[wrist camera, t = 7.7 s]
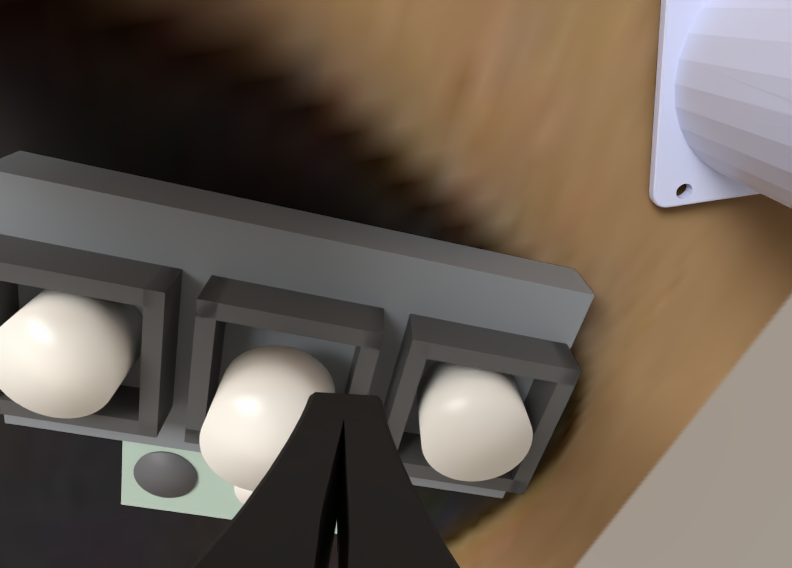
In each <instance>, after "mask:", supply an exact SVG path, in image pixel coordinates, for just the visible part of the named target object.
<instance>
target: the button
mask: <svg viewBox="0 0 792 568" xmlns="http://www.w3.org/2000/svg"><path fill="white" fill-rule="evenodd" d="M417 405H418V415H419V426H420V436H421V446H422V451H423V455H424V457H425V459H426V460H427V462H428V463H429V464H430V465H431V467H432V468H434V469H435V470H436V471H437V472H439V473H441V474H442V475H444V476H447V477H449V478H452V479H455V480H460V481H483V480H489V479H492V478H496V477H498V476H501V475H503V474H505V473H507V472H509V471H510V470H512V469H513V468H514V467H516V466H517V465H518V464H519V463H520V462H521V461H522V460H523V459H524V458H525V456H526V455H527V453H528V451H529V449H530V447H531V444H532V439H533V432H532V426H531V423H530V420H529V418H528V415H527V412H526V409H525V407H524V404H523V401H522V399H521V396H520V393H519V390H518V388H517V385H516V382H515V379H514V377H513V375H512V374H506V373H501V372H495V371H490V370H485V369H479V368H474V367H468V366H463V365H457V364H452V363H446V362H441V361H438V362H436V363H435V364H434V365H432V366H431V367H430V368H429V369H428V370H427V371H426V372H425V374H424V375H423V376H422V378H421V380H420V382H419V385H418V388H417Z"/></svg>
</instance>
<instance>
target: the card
mask: <svg viewBox="0 0 792 568" xmlns="http://www.w3.org/2000/svg"><path fill="white" fill-rule="evenodd" d="M252 493H253V491H249V490H245V489H242V488H239V487H237V486H234V485H232V484H230V483H228V482H227V481H225V480H224V479H222V478H221V477H219V476H218V475H217V474H216V473H215V472H214V471H213V470H212V469H211V468H210V467H209V466H208V464H207V463H206V461H205V459H204V457H203V455H202V453H201V452H194V451H188V450H181V449H174V448H168V447H161V446H155V445H148V444H141V443H135V442H128V441H123V450H122V495H121V504H123V505H130V506H138V507H145V508H152V509H160V510H167V511H174V512H181V513H189V514H196V515H203V516H210V517H218V518H225V519H233V518H234V516H235V515H236V514H237V513H238V511H239V510H240V509H241V508H242V506H243V505H244V504H245V502H246V501H247V499H248V498H249V497H250V495H251V494H252ZM335 534H337V523H336V529H335Z"/></svg>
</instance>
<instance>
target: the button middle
mask: <svg viewBox="0 0 792 568" xmlns="http://www.w3.org/2000/svg"><path fill="white" fill-rule="evenodd" d="M314 392H325V393H335V385H334V382H333V379H332V377H331V375H330V373H329V372H328V370H327V369H326V368H325V367H324V366H323V364H322V363H321V362H319V361H318V360H317V359H316V358H314V357H313V356H311V355H310V354H308V353H306V352H304V351H301V350H299V349H296V348H292V347H288V346H280V345H269V346H261V347H257V348H254V349H251V350H248V351H246V352H244V353H242V354H241V355H239V356H238V357H237V358H235V359H234V360H233V361H232V362H231V363H230V365H229V366H228V367H227V369H226V371H225V373H224V375H223V378H222V380H221V382H220V385H219V387H218V390H217V392H216V394H215V397H214V399H213V402H212V404H211V406H210V409H209V411H208V414H207V416H206V418H205V421H204V423H203V426H202V428H201V431H200V437H199V443H200V450H201V452H202V455H203V457H204V459H205V461H206V463H207V464H208V466H209V467H210V468H211V469H212V470H213V471H214V472H215V473H216V474H217V475H218V476H219V477H221V478H222V479H224V480H225V481H227V482H228V483H230V484H232V485H234V486H237V487H239V488H242V489H245V490H249V491H254V490H255V488H256V487H257V486H258V484H259V483H260V482H261V480H262V479H263V477H264V476H265V475H266V473H267V472H268V470H269V469H270V467H271V466H272V464H273V463H274V461H275V459H276V458H277V456H278V455H279V453H280V451H281V450H282V448H283V447H284V445H285V444H286V442H287V440H288V439H289V437H290V435H291V433H292V432H293V430H294V428H295V426H296V424H297V422H298V421H299V419H300V417H301V415H302V413H303V410H304V408H305V406H306V404H307V401H308V398H309V396H310V395H312V394H313V393H314Z"/></svg>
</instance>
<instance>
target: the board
mask: <svg viewBox="0 0 792 568" xmlns="http://www.w3.org/2000/svg"><path fill="white" fill-rule="evenodd" d="M44 289H49V290H54V291H60V292H65V293H71V294H76V295H82V296H87V297H93V298H98V299H103V300H109V301H114V302H120V303H125V304H131V305H134V306H135V307H136V308H137V310H138V311H139V313H140V314H141V316H142V318H143V320H142V346H141V355H140V356H139V358H138V359H137V361H136V362H135V364H134V365H133V367H132V368H131V369H130V371H129V372H128V374H127V375H126V377H125V378H124V380H123V381H122V383H121V384H120V386H119V387H118V389H117V390H116V392H115V393H114V395H113V396H112V397H111V399H110V400H109V402H108V403H107V404H106V405H105V406H104V407H103V408H101V409H100V410H98V411H97V412H95V413H93V414H90V415H87V416H84V417H79V418H54V417H49V416H45V415H41V414H38V413H35V412H33V411H30V410H28V409H26V408H24V407H22V406H21V405H19V404H17V403H16V402H14V401H13V400H12V399H10V398H9V397H8V396H7V395H6V394H5V393H4V392H2V390H1V389H0V414H4V418H5V423H10V424H16V425H23V426H30V427H36V428H43V429H49V430H56V431H63V432H69V433H76V434H82V435H89V436H95V437H102V438H109V439H115V440H122V441H128V442H135V443H141V444H148V445H155V446H161V447H168V448H174V449H181V450H188V451H194V452H201V450H200V443H199V437H200V431H201V428H202V426H203V423H204V421H205V418H206V416H207V414H208V411H209V409H210V406H211V404H212V402H213V399H214V397H215V394H216V392H217V390H218V387H219V385H220V382H221V380H222V378H223V375H224V373H225V371H226V369H227V367H228V366H229V365H230V363H231V362H232V361H233V360H234V359H235V358H237V357H238V356H239V355H241V354H242V353H244V352H246V351H248V350H251V349H254V348H257V347H261V346H269V345H280V346H288V347H292V348H296V349H299V350H301V351H304V352H306V353H308V354H310V355H311V356H313V357H314V358H316V359H317V360H318V361H319V362H321V363H322V364H323V366H324V367H325V368H326V369H327V370H328V372H329V373H330V375H331V377H332V379H333V382H334V385H335V393H342V394H359V395H376V396H378V397H379V398H380V399H381V400H382V402H383V408H384V412H385V416H386V419H387V423H388V426H389V429H390V432H391V435H392V437H393V440H394V443H395V446H396V448H397V451H398V453H399V456H400V458H401V460H402V462H403V465H404V467H405V469H406V471H407V474H408V476H409V478H410V480H411V482H412V485H418V486H424V487H431V488H437V489H444V490H451V491H457V492H464V493H470V494H477V495H484V496H490V497H497V498H503V496H504V494H505V492H512V493H518V494H524V493H525V490H526V488H527V486H528V484H529V482H530V480H531V478H532V476H533V474H534V471H535V469H536V467H537V465H538V463H539V461H540V459H541V457H542V455H543V453H544V450H545V448H546V446H547V444H548V442H549V440H550V438H551V436H552V434H553V431H554V429H555V427H556V425H557V423H558V421H559V419H560V417H561V415H562V413H563V410H564V408H565V406H566V404H567V402H568V400H569V398H570V396H571V394H572V391H573V389H574V387H575V385H576V383H577V381H578V379H579V377H580V375H581V373H582V370H581V369H580V367H579V365H578V363H577V361H576V360H575V358H574V356H573V354H572V352H571V351H570V349H571V346H572V344H573V342H574V340H575V338H576V335H577V333H578V331H579V329H580V326H581V324H582V322H583V320H584V318H585V315H586V313H587V311H588V309H589V307H590V304H591V302H592V300H593V298H594V296H595V295H594V294H593V292H592V291H591V290H590V288H589V287H588V286H587V284H586V283H585V282H584V280H583V279H582V278H581V276H580V275H579V274H578V272H577V271H576V270H575V269H572V268H567V267H562V266H558V265H553V264H548V263H544V262H539V261H534V260H530V259H525V258H520V257H516V256H511V255H506V254H502V253H497V252H492V251H487V250H483V249H478V248H473V247H469V246H464V245H459V244H455V243H450V242H445V241H441V240H436V239H431V238H427V237H422V236H417V235H413V234H408V233H403V232H399V231H394V230H389V229H385V228H380V227H375V226H370V225H366V224H361V223H356V222H352V221H347V220H342V219H338V218H333V217H328V216H324V215H319V214H314V213H310V212H305V211H300V210H296V209H291V208H286V207H282V206H277V205H272V204H268V203H263V202H258V201H253V200H249V199H244V198H239V197H235V196H230V195H225V194H221V193H216V192H211V191H207V190H202V189H197V188H193V187H188V186H183V185H179V184H174V183H169V182H165V181H160V180H155V179H151V178H146V177H141V176H137V175H132V174H127V173H122V172H118V171H113V170H108V169H104V168H99V167H94V166H90V165H85V164H80V163H76V162H71V161H66V160H62V159H57V158H52V157H48V156H43V155H38V154H34V153H29V152H24V151H18V152H15V153H13V154H10V155H8V156H6V157H3V158H1V159H0V326H2V325H3V324H4V323H5V322H6V321H7V320H9V319H10V318H11V317H12V316H13V315H14V314H16V313H17V312H18V311H19V310H20V309H22V308H23V307H24V306H25V305H26V304H27V303H29V302H30V301H31V300H32V299H33V298H34V297H36V296H37V295H38V294H39V293H40V292H41V291H43V290H44ZM438 361H441V362H446V363H452V364H457V365H463V366H468V367H474V368H479V369H485V370H490V371H495V372H501V373H506V374H512V375H513V377H514V379H515V382H516V385H517V388H518V390H519V393H520V396H521V399H522V401H523V404H524V407H525V409H526V412H527V415H528V418H529V420H530V423H531V426H532V432H533V439H532V444H531V447H530V449H529V451H528V453H527V455H526V456H525V458H524V459H523V460H522V461H521V462H520V463H519V464H518V465H517V466H516V467H514V468H513V469H512V470H510V471H509V472H507V473H505V474H503V475H501V476H498V477H496V478H492V479H489V480H483V481H460V480H455V479H452V478H449V477H447V476H444V475H442V474H441V473H439V472H437V471H436V470H435V469H434V468H432V467H431V465H430V464H429V463H428V462H427V460H426V459H425V457H424V455H423V451H422V446H421V436H420V426H419V415H418V405H417V388H418V385H419V382H420V380H421V378H422V376H423V375H424V374H425V372H426V371H427V370H428V369H429V368H430V367H431V366H432V365H434V364H435V363H436V362H438ZM201 453H202V452H201Z"/></svg>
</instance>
